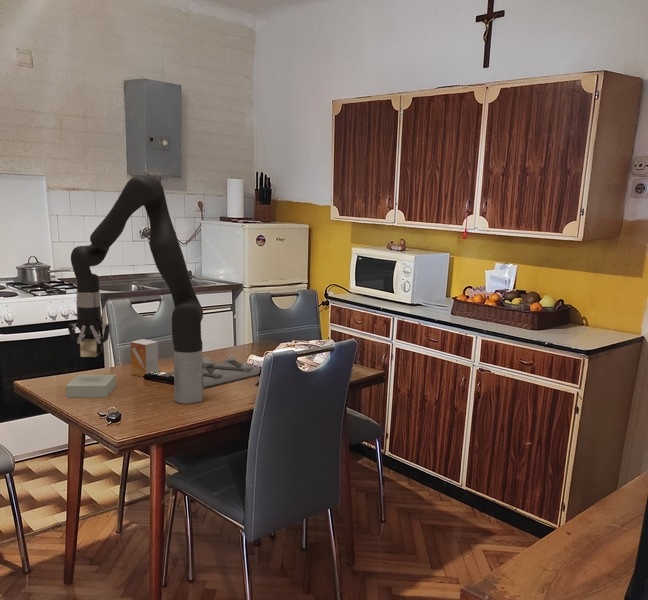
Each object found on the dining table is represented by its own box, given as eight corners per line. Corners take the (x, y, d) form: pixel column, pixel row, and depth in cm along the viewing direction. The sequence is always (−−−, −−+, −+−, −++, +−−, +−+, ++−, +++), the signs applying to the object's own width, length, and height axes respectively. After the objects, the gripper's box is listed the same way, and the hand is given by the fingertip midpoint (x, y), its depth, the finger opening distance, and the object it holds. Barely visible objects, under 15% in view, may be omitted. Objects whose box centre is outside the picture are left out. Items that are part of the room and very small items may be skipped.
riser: (116, 385, 208) (115, 374, 207) (106, 397, 195) (106, 385, 194) (78, 385, 206) (77, 374, 206) (66, 397, 193) (65, 385, 193)
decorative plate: (201, 391, 205) (201, 371, 204) (168, 378, 220) (168, 359, 219) (265, 375, 227) (265, 357, 226) (231, 364, 241) (231, 347, 240)
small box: (131, 374, 221) (130, 341, 219) (143, 371, 226) (142, 338, 224) (146, 378, 217) (145, 344, 215) (158, 374, 223) (158, 341, 220)
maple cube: (99, 353, 201) (99, 339, 200) (95, 356, 196) (95, 342, 195) (85, 353, 201) (84, 339, 200) (80, 356, 196) (80, 342, 195)
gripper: (113, 303, 200) (114, 351, 203) (70, 302, 199) (72, 351, 201) (107, 306, 193) (109, 356, 196) (62, 306, 191) (64, 356, 194)
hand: (90, 353), depth 198 cm, fingers closed on maple cube, 5 cm apart
